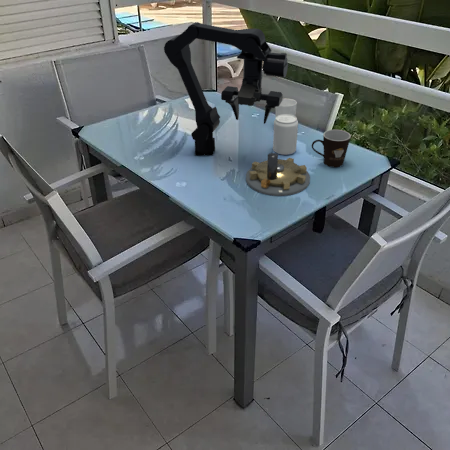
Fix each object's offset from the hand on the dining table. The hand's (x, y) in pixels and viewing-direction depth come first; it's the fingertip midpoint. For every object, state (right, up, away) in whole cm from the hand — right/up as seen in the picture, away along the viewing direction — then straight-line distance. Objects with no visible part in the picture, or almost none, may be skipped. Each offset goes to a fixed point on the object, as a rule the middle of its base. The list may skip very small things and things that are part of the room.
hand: (250, 121), depth 155 cm
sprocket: (+8, -18, -5) cm, 21 cm away
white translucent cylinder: (+15, +4, +28) cm, 32 cm away
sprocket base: (+8, -19, -5) cm, 21 cm away
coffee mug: (+26, -13, +4) cm, 30 cm away
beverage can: (+12, -8, +12) cm, 19 cm away
